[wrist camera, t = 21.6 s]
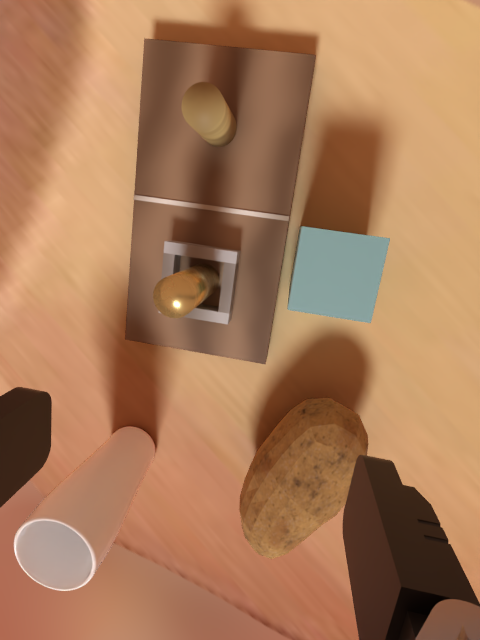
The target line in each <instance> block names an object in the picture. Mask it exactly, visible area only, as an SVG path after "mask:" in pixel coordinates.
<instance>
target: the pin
mask: <svg viewBox="0 0 480 640" xmlns="http://www.w3.org/2000/svg"><path fill="white" fill-rule="evenodd" d="M218 286H219V275H218V273H217V271H216V270H215V268H213V267H212V266H211V265H208V264H197V265H195V266H192V267H190V268H187V269H185V270H182V271H180V272H177V273H175V274H172V275H170V276H167V277H165V278H163V279H161V280H160V281H159V282H158V283H157V284H156V286H155V288H154V291H153V300H154V304H155V306H156V308H157V309H158V310H159V312H161V313H162V314H163V315H165V316H167V317H169V318H181V317H184V316H186V315H187V314H188V313H189V312H191V311H192V310H193V309H194V308H196V307H197V306H198V305H199V304H200V303H202V302H203V301H204V300H205V299H206V298H208V297H209V296H210V295H211V294H213V293H214V292H215V291H216V290H217V288H218Z"/></svg>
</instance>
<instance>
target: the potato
mask: <svg viewBox="0 0 480 640" xmlns="http://www.w3.org/2000/svg"><path fill="white" fill-rule="evenodd" d="M367 449H368V435H367V433H366V430H365V428H364V426H363V423H362V421H361V419H360V417H359V415H358V414H356V413H355V412H353V411H352V410H350V409H348V408H347V407H345V406H343V405H341V404H340V403H338V402H336V401H334V400H333V399H331V398H329V397H328V398H315V399H306V400H304V401H303V402H301V403H300V404H298V405H297V406H295V407H294V408H292V409H291V410H290V411H289V412H288V413H287V414H286V416H285V417H284V418H283V419H282V420H281V421H280V422H279V424H278V425H277V426H276V427H275V429H274V430H273V431H272V432H271V434H270V435H269V436H268V437H267V439H266V440H265V441H264V443H263V444H262V445H261V447H260V448H259V449H258V451H257V452H256V455H255V457H254V459H253V461H252V463H251V465H250V468H249V470H248V473H247V475H246V478H245V480H244V484H243V488H242V491H241V495H240V516H241V523H242V529H243V532H244V535H245V538H246V539H247V541H248V542H249V544H250V545H251V546H252V548H253V549H254V551H255V552H257V553H258V554H259V555H262V556H265V557H267V558H270V559H273V558H276V557H279V556H282V555H285V554H287V553H289V552H290V551H291V550H292V549H294V548H295V547H296V546H297V545H299V544H300V543H301V542H302V541H304V540H305V539H306V538H307V537H308V536H310V535H311V534H312V533H313V532H314V531H315V530H317V529H318V528H319V527H320V526H321V525H323V524H324V523H326V522H327V521H328V520H330V519H331V518H333V517H334V516H336V515H337V513H338V512H339V511H340V510H341V508H342V507H343V506H344V505H345V503H346V500H347V496H348V492H349V488H350V484H351V480H352V476H353V471H354V467H355V463H356V460H357V458H358V456H359V455H365V456H367Z"/></svg>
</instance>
